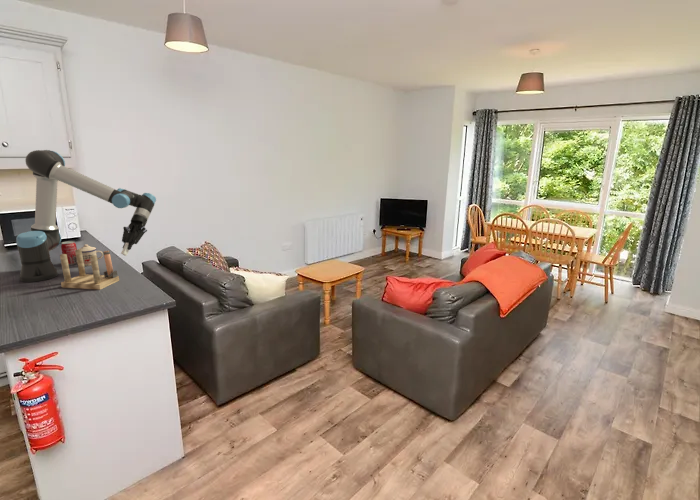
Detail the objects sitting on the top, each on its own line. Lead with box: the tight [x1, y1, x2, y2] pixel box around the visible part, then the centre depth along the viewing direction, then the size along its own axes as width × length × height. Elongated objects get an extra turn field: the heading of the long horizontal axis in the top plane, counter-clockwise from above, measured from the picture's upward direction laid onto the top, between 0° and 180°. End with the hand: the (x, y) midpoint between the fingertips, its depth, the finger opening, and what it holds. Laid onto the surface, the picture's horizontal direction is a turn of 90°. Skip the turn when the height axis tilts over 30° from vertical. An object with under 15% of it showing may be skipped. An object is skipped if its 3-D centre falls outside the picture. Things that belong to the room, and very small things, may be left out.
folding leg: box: [102, 250, 114, 277], centre depth 186 cm, size 3×3×13 cm
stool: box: [59, 248, 120, 290], centre depth 183 cm, size 20×13×16 cm, turn 85°
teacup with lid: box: [79, 243, 104, 267], centre depth 216 cm, size 12×9×12 cm
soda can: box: [60, 240, 78, 266], centre depth 214 cm, size 7×7×13 cm
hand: (123, 254), depth 196 cm, fingers closed
